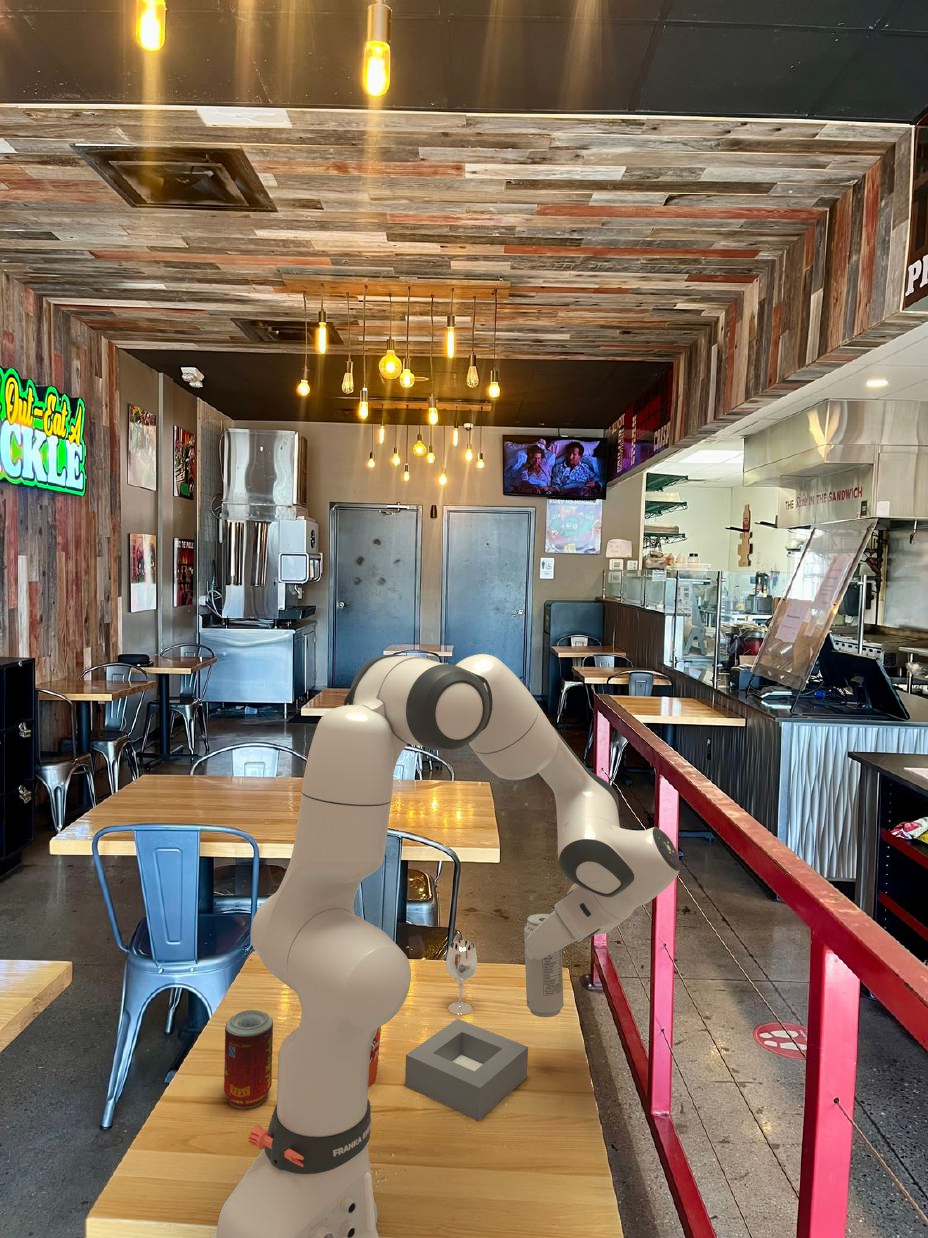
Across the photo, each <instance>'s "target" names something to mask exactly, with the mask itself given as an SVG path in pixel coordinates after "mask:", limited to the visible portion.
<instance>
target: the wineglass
mask: <svg viewBox="0 0 928 1238" xmlns="http://www.w3.org/2000/svg"><path fill="white" fill-rule="evenodd" d="M445 964H446V965H445V966H446V968H445V969H446V972H447V974H448V975H449V976H450V978H452V979H454V980H456V981H458V983H457V987H458V991H459V993H458V1001H457V1002H452V1003H450V1004H449V1005H448V1007H447V1010H448V1011H449V1012H450V1013H451V1014H453V1015H458V1016H461V1015H462V1016H463V1015H467V1014H470V1013H471V1012H473V1007H472V1005H470V1003H466V1002H463V999H462V998H463V997H462V995H463V989H464V981H467V980H470V979H471V978H473V976H474V975H476V971H477V968H478V957H477V951H476V945H475V943H473V942H471V941H469V940H463V939H458V940H454V941H451V942H450V944H449V946H448V949H447V954H446V961H445Z"/></svg>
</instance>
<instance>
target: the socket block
mask: <svg viewBox="0 0 928 1238" xmlns="http://www.w3.org/2000/svg"><path fill="white" fill-rule="evenodd" d="M528 1060H529V1046H528V1045H525V1044H522V1043H520V1042H518V1041H514V1040H513V1039H510V1038H507V1037H504V1036H502V1035H500V1034H498V1033H495V1032H492V1031H489V1030H487V1029H485V1028H482V1027H480V1026H477V1025H475V1024H473V1023H470V1022H467V1021H465V1020H463V1019H460V1018H456V1019H455V1020H453V1021H452V1022H450V1023H449V1024H447V1025H446V1026H445V1027H443V1028H442V1029H441V1030H439V1031H438V1032H436V1033H435V1034H433V1035H432V1036H430V1037H429V1038H428V1039H426V1040H425V1041H423V1042H421V1043H420V1044H419V1045H418V1046H416V1047H415V1048H414V1049H412V1050H411V1051H409V1052H407V1053H406V1054H405V1068H404V1069H405V1072H404V1074H405V1075H404V1086H405V1087H407V1088H409V1089H411V1090H413V1091H415V1092H417V1093H419V1094H421V1095H423V1096H426V1097H428V1098H430V1099H431V1100H434V1101H436V1102H439V1103H440V1104H442V1105H444V1106H447V1107H449V1108H451V1109H453V1110H455V1111H456V1112H459V1113H461V1114H463V1115H465V1116H468V1117H469V1118H472V1119H474V1120H476V1121H481V1119H483V1118H484V1117H485V1116H486V1115H487V1114H488V1113H490V1111H492V1110H493V1108H494V1107H495V1108H496V1106H497V1105H498V1104H499V1103H500V1102H502V1101H503V1099H505V1098H506V1097H507V1096H508V1095H509V1094H510V1093H511V1092H512V1091H514V1089H516V1088H517V1087H518V1086H519V1085H520V1084H521V1083H523V1081H524V1080H526V1079H527V1078H528V1065H529V1064H528V1062H529V1061H528Z"/></svg>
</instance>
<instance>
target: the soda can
mask: <svg viewBox="0 0 928 1238" xmlns="http://www.w3.org/2000/svg"><path fill="white" fill-rule="evenodd" d="M224 1027H225V1028H224V1035H225V1036H224V1072H223V1073H224V1075H223V1090H224V1094H225V1095H226V1097H227V1099H228V1100H227V1101H228V1103H229V1104H230V1105H231V1106H232V1107H235V1108H237V1109H251V1108H255V1107H257V1106H260V1105H261V1104H262V1103H264V1102H265V1100H266V1099H267V1095H268V1093H269V1091H270V1088H272V1084H273V1082H272V1080H273V1079H272V1078H273V1077H272V1076H273V1075H272V1074H273V1070H272V1069H273V1044H274V1043H273V1041H274V1039H273V1037H274V1035H273V1034H274V1022H273V1018H272V1017H271V1015H270V1014H269V1013H266V1012H264V1011H261V1010H258V1009H246V1010H242V1011H240V1012H238V1013H236V1014H235V1015H233V1016H231V1017H230V1018H229V1019H228V1020H227V1021H226V1023H225V1026H224Z"/></svg>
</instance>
